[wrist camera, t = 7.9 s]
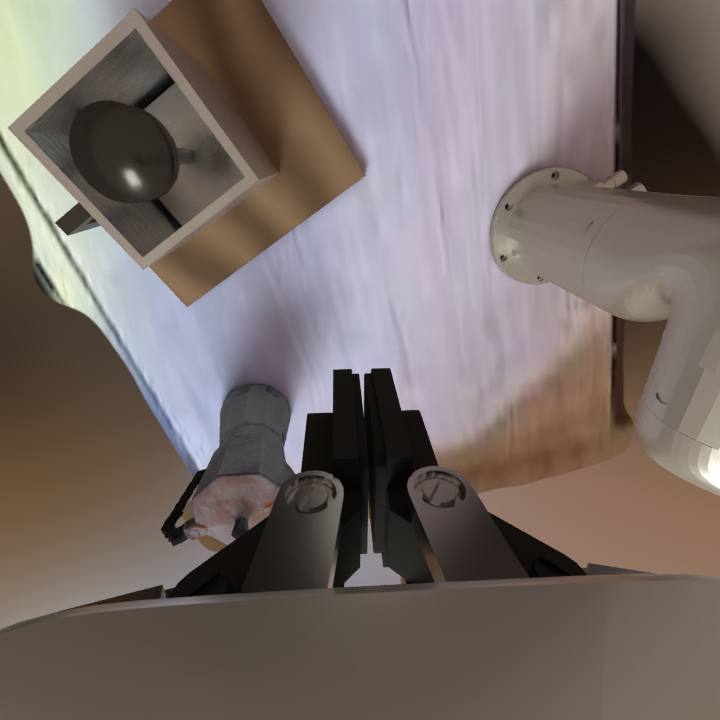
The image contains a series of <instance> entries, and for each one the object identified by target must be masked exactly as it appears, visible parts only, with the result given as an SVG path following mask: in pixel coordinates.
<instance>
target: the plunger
mask: <svg viewBox="0 0 720 720" xmlns="http://www.w3.org/2000/svg"><path fill="white" fill-rule="evenodd" d="M69 145H70V151H71V155H72V158H73V161H74V163H75V165H76V167H77V169H78V171H79V172H80V174H81V175H82V177H83V178H84V179H85V181H86V182H87V183H88V184H89V185H90V186H91V187H92V188H93V189H95V190H96V191H97V192H98V193H100V194H102V195H103V196H105V197H107V198H109V199H111V200H114V201H116V202H120V203H126V204H136V203H142V202H146V201H150V200H154V199H157V198H159V199H160V201H161V202H162V203H163V204H164V205H165V206H166V208H167V209H168V210H169V211H170V212H171V213H172V215H173V216H174V217H175V218H176V219H177V220H178V222H179V223H180V224H181V225H182V226H184V225H185V224H186V223H187V222H189V221H190V220H191V219H192V218H194V217H195V216H196V215H198V214H199V213H200V212H201V211H203V210H204V209H205V208H206V207H208V206H209V205H210V204H212V203H213V202H214V201H215V200H217V199H218V198H219V197H220V196H222V195H223V194H224V193H226V192H227V191H228V190H229V189H231V188H232V187H233V186H234V185H236V184H237V183H238V182H240V181H241V180H242V179H243V178H245V176H244V175H243V174H242V172H241V171H240V169H239V168H238V167H237V165H236V164H235V163H234V161H233V160H232V159H231V157H230V156H229V155H228V153H227V152H226V150H225V149H224V148H223V146H222V145H221V144H220V142H219V141H218V140H217V138H216V137H215V136H214V134H213V133H212V131H211V130H210V129H209V127H208V126H207V125H206V123H205V122H204V121H203V119H202V118H201V116H200V115H199V114H198V112H197V111H196V110H195V108H194V107H193V106H192V104H191V103H190V102H189V100H188V99H187V97H186V96H185V95H184V93H183V92H182V91H181V89H180V88H179V87H178V85H177V84H176V83H174V84H173V85H172V86H171V87H169V88H168V89H167V90H166V91H165V92H164V93H163V94H161V95H160V96H159V97H158V98H157V99H156V100H155V101H153V102H152V103H151V104H150V105H149V106H148V107H147V108H145V109H144V110H143V109H140V108H138V107H134V106H131V105H127V104H124V103H120V102H117V101H111V100H103V101H97V102H93V103H91V104H89V105H87V106H85V107H84V108H83V109H81V110H80V111H79V112H78V113H77V115H76V116H75V118H74V120H73V122H72V124H71V128H70V133H69Z"/></svg>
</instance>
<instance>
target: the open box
mask: <svg viewBox="0 0 720 720" xmlns="http://www.w3.org/2000/svg"><path fill="white" fill-rule="evenodd" d="M174 83H176V84H177V85H178V87H179V88H180V89H181V91H182V92H183V93H184V95H185V96H186V97H187V99H188V100H189V102H190V103H191V104H192V106H193V107H194V108H195V110H196V111H197V112H198V114H199V115H200V116H201V118H202V119H203V121H204V122H205V123H206V125H207V126H208V127H209V129H210V130H211V131H212V133H213V134H214V136H215V137H216V138H217V140H218V141H219V142H220V144H221V145H222V146H223V148H224V149H225V150H226V152H227V153H228V155H229V156H230V157H231V159H232V160H233V161H234V163H235V164H236V165H237V167H238V168H239V169H240V171H241V172H242V174H243V175H244V176H245V178H243V179H242V180H241V181H240V182H238V183H237V184H236V185H234V186H233V187H232V188H231V189H229V190H228V191H227V192H226V193H224V194H223V195H222V196H220V197H219V198H218V199H217V200H215V201H214V202H213V203H212V204H210V205H209V206H208V207H206V208H205V209H204V210H203V211H201V212H200V213H199V214H198V215H196V216H195V217H194V218H192V219H191V220H190V221H189V222H187V223H186V224H185V225H184V226H182V225H181V224H180V223H179V222H178V220H177V219H176V218H175V217H174V216H173V215H172V213H171V212H170V211H169V210H168V209H167V208H166V206H165V205H164V204H163V203H162V202H161V201H160V199H159V198H157V199H154V200H150V201H146V202H142V203H136V204H126V203H120V202H116V201H114V200H111V199H109V198H107V197H105V196H103V195H102V194H100V193H98V192H97V191H96V190H95V189H93V188H92V187H91V186H90V185H89V184H88V183H87V182H86V181H85V179H84V178H83V177H82V175H81V174H80V172H79V171H78V169H77V167H76V165H75V163H74V161H73V158H72V155H71V151H70V145H69V133H70V128H71V124H72V122H73V120H74V118H75V116H76V115H77V113H78V112H79V111H80V110H81V109H83V108H84V107H85V106H87V105H89V104H91V103H93V102H97V101H103V100H111V101H117V102H120V103H124V104H127V105H131V106H134V107H138V108H140V109H143V110H144V109H145V108H147V107H148V106H149V105H150V104H151V103H152V102H153V101H155V100H156V99H157V98H158V97H159V96H160V95H161V94H163V93H164V92H165V91H166V90H167V89H168V88H169V87H171V86H172V85H173V84H174ZM8 129H9V130H10V131H11V132H12V133H13V134H14V135H15V136H16V137H17V138H18V139H19V140H20V141H21V142H22V143H23V144H24V145H25V147H26V148H27V149H28V150H29V151H30V152H31V153H32V154H33V155H34V156H35V157H36V158H37V159H38V160H39V161H40V162H41V163H42V164H43V165H44V166H45V167H46V168H47V170H48V171H49V172H50V173H51V174H52V175H53V176H54V177H55V178H56V179H57V180H58V181H59V182H60V183H61V184H62V185H63V186H64V187H65V188H66V189H67V190H68V192H69V193H70V194H71V195H72V196H73V197H74V198H75V199H76V200H77V201H78V202H79V203H78V204H76V205H75V206H74V207H73V208H72V209H71V210H69V211H68V212H67V213H66V214H65V215H64V216H62V217H61V218H60V219H59V220H58V221H57V222H55V223H56V224H57V225H58V226H59V227H60V228H61V229H62V230H63V231H64V232H65V233H66V234H67V235H71V234H75V233H78V232H81V231H85V230H88V229H91V228H94V227H98V226H102V227H103V228H104V229H105V230H106V231H107V232H108V233H109V234H110V235H111V237H112V238H113V239H114V240H115V241H116V242H117V243H118V244H119V245H120V246H121V247H122V248H123V249H124V250H125V251H126V252H127V253H128V254H129V255H130V256H131V257H132V258H133V260H134V261H135V262H136V263H137V264H138V265H139V266H140V267H141V268H142V269H143V270H144V269H145V268H147V267H149V266H150V265H152V264H153V263H155V262H156V261H158V260H160V259H161V258H163V257H164V256H166V255H167V254H169V253H171V252H172V251H174V250H175V249H177V248H178V247H180V246H182V245H183V244H185V243H186V242H188V241H189V240H191V239H193V238H194V237H196V236H197V235H199V234H200V233H202V232H203V231H205V230H206V229H207V228H209V227H210V226H211V225H212V224H214V223H215V222H216V221H218V220H219V219H220V218H222V217H223V216H224V215H225V214H227V213H228V212H229V211H231V210H232V209H233V208H234V207H236V206H237V205H238V204H240V203H241V202H242V201H244V200H245V199H246V198H247V197H249V196H250V195H251V194H253V193H254V192H255V191H256V190H258V189H259V188H260V187H262V186H263V185H264V184H265V183H267V182H268V181H269V180H271V179H272V178H273V177H275V176H276V175H277V174H278V173H279V171H278V170H277V168H276V167H275V165H274V164H273V163H272V161H271V160H270V158H269V157H268V155H267V154H266V153H265V151H264V150H263V148H262V147H261V145H260V144H259V142H258V141H257V140H256V138H255V137H254V135H253V134H252V132H251V131H250V129H249V128H248V127H247V125H246V124H245V122H244V121H243V119H242V118H241V116H240V115H239V114H238V112H237V111H236V109H235V108H234V106H233V105H232V103H231V102H230V101H229V99H228V98H227V96H226V95H225V93H224V92H223V91H222V89H221V88H220V86H219V85H218V83H217V82H216V80H215V79H214V78H213V76H212V75H211V73H210V72H209V70H208V69H207V68H206V67H205V66H203V65H202V64H201V63H200V62H199V61H197V60H196V59H195V58H194V57H193V56H191V55H190V54H189V53H188V52H187V51H185V50H184V49H183V48H182V47H181V46H179V45H178V44H177V43H176V42H175V41H173V40H172V39H171V38H170V37H169V36H167V35H166V34H165V33H164V32H163V31H161V30H160V29H159V28H158V27H157V26H155V25H154V24H153V23H152V22H150V21H149V20H148V19H147V18H146V17H144V16H143V15H142V14H141V13H140V12H138V11H137V10H136V9H134V10H133V11H132V12H130V13H129V14H128V15H127V16H126V17H125V18H124V19H123V20H122V21H121V22H120V23H119V24H118V25H117V26H116V27H115V28H113V29H112V30H111V31H110V32H109V33H108V34H107V35H106V36H105V37H104V38H103V39H102V40H101V41H100V42H99V43H97V44H96V45H95V46H94V47H93V48H92V49H91V50H90V51H89V52H88V53H87V54H86V55H85V56H84V57H83V58H82V59H80V60H79V61H78V62H77V63H76V64H75V65H74V66H73V67H72V68H71V69H70V70H69V71H68V72H67V73H66V74H64V75H63V76H62V77H61V78H60V79H59V80H58V81H57V82H56V83H55V84H54V85H53V86H52V87H51V88H50V89H49V90H47V91H46V92H45V93H44V94H43V95H42V96H41V97H40V98H39V99H38V100H37V101H36V102H35V103H34V104H33V105H32V106H30V107H29V108H28V109H27V110H26V111H25V112H24V113H23V114H22V115H21V116H20V117H19V118H18V119H17V120H16V121H14V122H13V123H12V124H11V125H10V126H9V127H8Z"/></svg>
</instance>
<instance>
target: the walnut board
mask: <svg viewBox="0 0 720 720" xmlns="http://www.w3.org/2000/svg"><path fill="white" fill-rule="evenodd" d="M150 22H152V23H153V24H154V25H155V26H157V27H158V28H159V29H160V30H161V31H163V32H164V33H165V34H166V35H167V36H169V37H170V38H171V39H172V40H173V41H175V42H176V43H177V44H178V45H179V46H181V47H182V48H183V49H184V50H185V51H187V52H188V53H189V54H190V55H191V56H193V57H194V58H195V59H196V60H197V61H199V62H200V63H201V64H202V65H203V66H205V67H206V68H207V69H208V70H209V72H210V73H211V75H212V76H213V78H214V79H215V80H216V82H217V83H218V85H219V86H220V88H221V89H222V91H223V92H224V93H225V95H226V96H227V98H228V99H229V101H230V102H231V103H232V105H233V106H234V108H235V109H236V111H237V112H238V114H239V115H240V116H241V118H242V119H243V121H244V122H245V124H246V125H247V127H248V128H249V129H250V131H251V132H252V134H253V135H254V137H255V138H256V140H257V141H258V142H259V144H260V145H261V147H262V148H263V150H264V151H265V153H266V154H267V155H268V157H269V158H270V160H271V161H272V163H273V164H274V165H275V167H276V168H277V170H278V171H279V173H278V174H277V175H276V176H275V177H273V178H272V179H271V180H269V181H268V182H267V183H265V184H264V185H263V186H262V187H260V188H259V189H258V190H256V191H255V192H254V193H253V194H251V195H250V196H249V197H247V198H246V199H245V200H244V201H242V202H241V203H240V204H238V205H237V206H236V207H234V208H233V209H232V210H231V211H229V212H228V213H227V214H225V215H224V216H223V217H222V218H220V219H219V220H218V221H216V222H215V223H214V224H212V225H211V226H210V227H209V228H207V229H206V230H205V231H203V232H202V233H200V234H199V235H197V236H196V237H194V238H193V239H191V240H189V241H188V242H186V243H185V244H183V245H182V246H180V247H178V248H177V249H175V250H174V251H172V252H171V253H169V254H167V255H166V256H164V257H163V258H161V259H160V260H158V261H156V262H155V263H153V264H152V265H150V266H149V267H150V268H151V269H152V270H153V271H154V272H155V273H156V274H157V275H158V277H159V278H160V279H161V280H162V281H163V282H164V283H165V284H166V285H167V286H168V287H169V288H170V289H171V290H172V291H173V292H174V293H175V295H176V296H177V297H178V298H179V299H180V300H181V301H182V302H183V303H184V304H185V305H186V306H187V307H188V306H189V305H191V304H192V303H193V302H195V301H196V300H198V299H199V298H200V297H202V296H203V295H204V294H206V293H207V292H208V291H210V290H211V289H212V288H214V287H215V286H217V285H218V284H219V283H221V282H222V281H223V280H225V279H226V278H227V277H229V276H230V275H231V274H233V273H234V272H236V271H237V270H238V269H240V268H241V267H242V266H244V265H245V264H246V263H248V262H249V261H250V260H252V259H253V258H254V257H256V256H257V255H259V254H260V253H261V252H263V251H264V250H265V249H267V248H268V247H269V246H271V245H272V244H273V243H275V242H276V241H278V240H279V239H280V238H282V237H283V236H284V235H286V234H287V233H288V232H290V231H291V230H292V229H294V228H295V227H297V226H298V225H299V224H301V223H302V222H303V221H305V220H306V219H307V218H309V217H310V216H311V215H313V214H314V213H316V212H317V211H318V210H320V209H321V208H322V207H324V206H325V205H326V204H328V203H329V202H330V201H332V200H333V199H335V198H336V197H337V196H339V195H340V194H341V193H343V192H344V191H345V190H347V189H348V188H349V187H351V186H352V185H354V184H355V183H356V182H358V181H359V180H360V179H362V178H363V177H364V176H366V175H365V173H364V172H363V170H362V168H361V167H360V165H359V163H358V162H357V160H356V158H355V157H354V155H353V153H352V152H351V150H350V148H349V147H348V145H347V143H346V142H345V140H344V138H343V137H342V135H341V133H340V132H339V130H338V128H337V127H336V125H335V123H334V122H333V120H332V118H331V117H330V115H329V113H328V111H327V110H326V108H325V106H324V105H323V103H322V101H321V100H320V98H319V96H318V95H317V93H316V91H315V90H314V88H313V86H312V85H311V83H310V81H309V80H308V78H307V76H306V75H305V73H304V71H303V70H302V68H301V66H300V65H299V63H298V61H297V60H296V58H295V56H294V55H293V53H292V51H291V49H290V48H289V46H288V44H287V43H286V41H285V39H284V38H283V36H282V34H281V33H280V31H279V29H278V28H277V26H276V24H275V23H274V21H273V19H272V18H271V16H270V14H269V13H268V11H267V9H266V8H265V6H264V4H263V3H262V1H261V0H173V1H172V2H171V3H169V4H168V5H167V6H166V7H165V8H164V9H163V10H162V11H161V12H160V13H159V14H158V15H156V16H155V17H154V18H153V19H152V20H151V21H150Z"/></svg>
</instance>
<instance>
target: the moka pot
mask: <svg viewBox="0 0 720 720" xmlns="http://www.w3.org/2000/svg"><path fill="white" fill-rule="evenodd" d="M289 422H290V410H289V405H288V402H287V400H286V398H285V397H284V396H283V395H282V394H281V393H279V392H278V391H277V390H275V389H273V388H271V387H269V386H265V385H258V384H251V385H246V386H243V387H240V388H239V389H236V390H234V391H233V392H231V393H230V394H229V395H228V396H227V398H226V400H225V402H224V404H223V406H222V408H221V412H220V446H219V448H218V449H217V450H216V451H215V452H214V454H213V456H212V458H211V460H210V462H209V464H208V467H207V469H203V470H200V471H198V472H197V473H196V474H195V476H194V478H193V480H192V482H190V484H189V485H188V487H187V489H186V491H185V492H184V494H183V495H182V497H181V498H180V500H179V502H178V503H177V504H176V506H175V508H174V510H173V511H172V512H171V514H170V516H169V517H168V518H167V519H166V521H165V522H164V525H163V527H162V528H161V531H162V533H163V534H164V535H165V538H168V539H169V542H171V543H172V545H173V546H175V545H177V544H180V543H182V542H183V541H185V540H187V539H188V538H190V539H192V540H195V539H197V538H200V537H203V536H204V535H209V536H211V537H213V538H215V539H217V540H219V541H221V542H223V543H225V544H227V545H229V544H230V543H232V542H233V541H234V540H236V539H237V538H238V537H240V536H241V535H243V534H244V533H245V532H247V531H248V530H250V529H251V528H252V527H254V526H255V525H256V524H258V523H259V522H261V521H262V520H263V519H265V518H266V517H268V516H269V515H270V512H271V509H272V507H273V504H274V501H275V499H276V496H277V493H278V491H279V489H280V487H281V486H282V484H283V483H284V482H285V481H286V480H287V479H289V478H290V477H292V476H294V475H296V474H295V473H294V472H293V470H292V469H291V468H290V466H289V465H288V464H287V463H286V461H285V455H284V444H285V441H286V435H287V431H288V427H289ZM197 485H199V486H198V488H197V490H196V492H195V494H194V496H193V498H192V506H193V511H194V516H195V517H194V518H191V519H190V520H188V521H187V522H186V523H184V524H183V525H182V526H180V527H178V528H176V527H175V523H176V522H177V520H178V519H179V518H180V517H181V516H182V514H183V512H182V510H183V509H184V508H185V506H186V503H187V501H188V499H189V498H190V497H191V495H192V493H193V491H194V489H195V488H196V487H197Z"/></svg>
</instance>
